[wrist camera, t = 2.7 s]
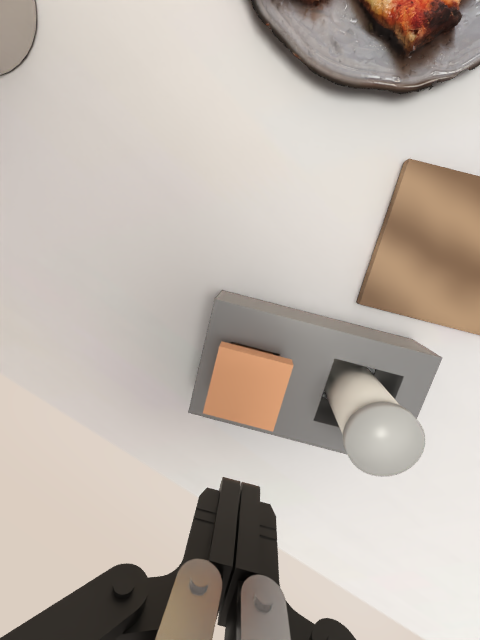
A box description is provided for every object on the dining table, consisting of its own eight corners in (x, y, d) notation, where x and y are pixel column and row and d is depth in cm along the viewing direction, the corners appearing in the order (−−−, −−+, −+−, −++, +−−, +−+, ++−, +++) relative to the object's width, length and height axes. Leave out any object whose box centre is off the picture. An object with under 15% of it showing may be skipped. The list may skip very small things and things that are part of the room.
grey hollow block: (222, 290, 30) (214, 298, 25) (412, 339, 30) (442, 357, 25) (199, 387, 32) (188, 412, 27) (375, 433, 32) (396, 467, 27)
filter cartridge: (325, 345, 30) (360, 399, 20) (375, 358, 30) (437, 419, 20) (310, 391, 32) (335, 465, 21) (358, 403, 32) (408, 484, 21)
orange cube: (226, 328, 27) (219, 346, 22) (287, 344, 27) (293, 365, 22) (212, 385, 28) (202, 413, 23) (271, 400, 28) (273, 431, 23)
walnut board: (404, 161, 27) (409, 158, 26) (547, 198, 26) (558, 196, 26) (356, 302, 29) (359, 304, 28) (486, 335, 29) (493, 338, 28)
